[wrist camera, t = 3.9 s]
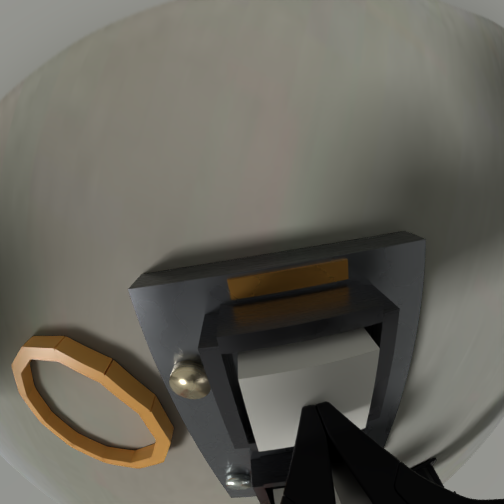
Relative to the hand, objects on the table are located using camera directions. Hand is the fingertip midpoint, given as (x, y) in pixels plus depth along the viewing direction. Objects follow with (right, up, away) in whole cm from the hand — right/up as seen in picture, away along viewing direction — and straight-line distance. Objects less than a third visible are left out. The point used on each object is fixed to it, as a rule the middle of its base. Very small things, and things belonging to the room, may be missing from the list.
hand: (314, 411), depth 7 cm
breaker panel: (+1, -4, +5) cm, 6 cm away
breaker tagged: (0, +1, +2) cm, 3 cm away
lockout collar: (-12, -5, +5) cm, 14 cm away
